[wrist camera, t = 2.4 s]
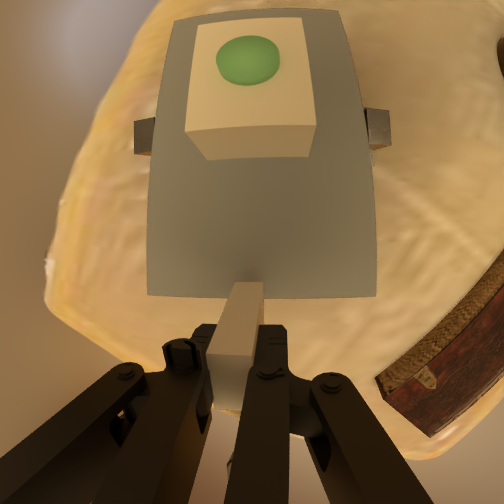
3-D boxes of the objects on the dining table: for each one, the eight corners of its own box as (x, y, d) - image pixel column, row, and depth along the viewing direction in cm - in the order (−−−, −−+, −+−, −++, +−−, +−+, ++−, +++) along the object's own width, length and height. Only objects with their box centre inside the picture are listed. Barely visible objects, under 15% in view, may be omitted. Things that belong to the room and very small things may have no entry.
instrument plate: (179, 34, 22) (153, -16, 14) (337, 25, 20) (347, -31, 12) (158, 291, 22) (98, 307, 13) (368, 292, 20) (415, 311, 12)
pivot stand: (161, 118, 27) (131, 106, 20) (366, 111, 25) (390, 94, 18) (169, 255, 31) (142, 276, 24) (367, 254, 29) (389, 276, 22)
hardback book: (422, 420, 36) (431, 439, 31) (373, 375, 34) (382, 398, 29) (534, 310, 28) (550, 321, 24) (511, 234, 26) (533, 242, 21)
